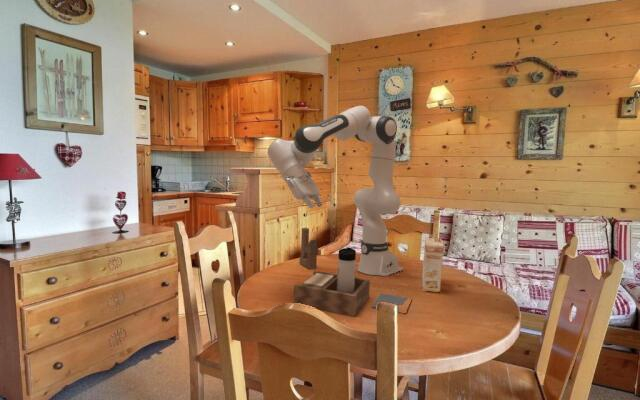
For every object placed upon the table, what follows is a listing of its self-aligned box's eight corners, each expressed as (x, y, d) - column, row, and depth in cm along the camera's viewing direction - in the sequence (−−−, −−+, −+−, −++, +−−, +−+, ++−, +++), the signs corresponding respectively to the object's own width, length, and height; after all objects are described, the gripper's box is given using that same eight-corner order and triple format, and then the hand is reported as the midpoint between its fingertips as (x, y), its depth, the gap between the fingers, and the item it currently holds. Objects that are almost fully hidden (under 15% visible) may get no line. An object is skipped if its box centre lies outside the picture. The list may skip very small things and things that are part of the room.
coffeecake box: (440, 293, 144) (444, 246, 141) (422, 291, 145) (425, 244, 143) (438, 281, 158) (442, 238, 156) (421, 279, 160) (425, 237, 158)
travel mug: (355, 301, 133) (358, 248, 131) (351, 307, 127) (353, 252, 124) (339, 298, 135) (341, 246, 133) (334, 304, 129) (336, 250, 126)
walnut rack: (293, 304, 128) (294, 285, 127) (314, 287, 146) (314, 270, 145) (354, 316, 120) (355, 296, 119) (368, 297, 137) (369, 279, 136)
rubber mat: (380, 294, 140) (380, 293, 140) (411, 300, 136) (412, 298, 136) (371, 307, 127) (371, 306, 127) (406, 314, 123) (406, 312, 123)
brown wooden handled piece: (309, 269, 169) (311, 232, 167) (299, 263, 178) (300, 227, 176) (316, 268, 171) (317, 231, 169) (305, 262, 180) (306, 227, 178)
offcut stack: (302, 302, 130) (302, 282, 129) (315, 291, 142) (316, 272, 141) (321, 306, 127) (322, 286, 127) (333, 294, 139) (334, 275, 139)
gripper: (292, 170, 125) (314, 202, 122) (311, 173, 144) (331, 201, 142) (278, 181, 126) (300, 213, 124) (299, 182, 146) (318, 210, 143)
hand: (317, 206), depth 133 cm, fingers open, 8 cm apart
